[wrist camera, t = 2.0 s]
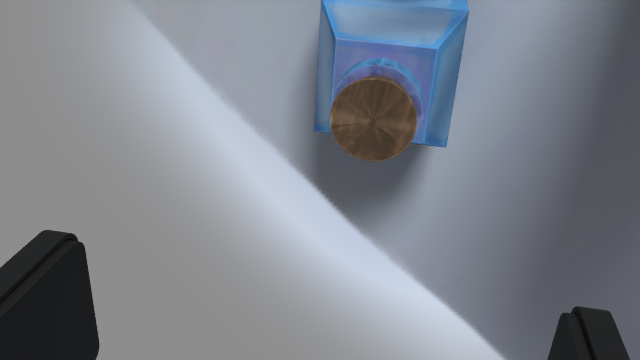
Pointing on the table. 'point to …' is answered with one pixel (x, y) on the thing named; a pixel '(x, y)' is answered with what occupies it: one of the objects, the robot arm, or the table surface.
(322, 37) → the perfume bottle
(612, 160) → the table surface
